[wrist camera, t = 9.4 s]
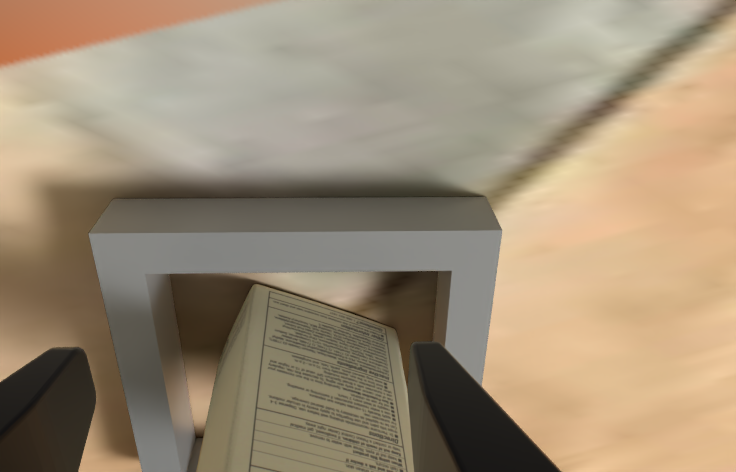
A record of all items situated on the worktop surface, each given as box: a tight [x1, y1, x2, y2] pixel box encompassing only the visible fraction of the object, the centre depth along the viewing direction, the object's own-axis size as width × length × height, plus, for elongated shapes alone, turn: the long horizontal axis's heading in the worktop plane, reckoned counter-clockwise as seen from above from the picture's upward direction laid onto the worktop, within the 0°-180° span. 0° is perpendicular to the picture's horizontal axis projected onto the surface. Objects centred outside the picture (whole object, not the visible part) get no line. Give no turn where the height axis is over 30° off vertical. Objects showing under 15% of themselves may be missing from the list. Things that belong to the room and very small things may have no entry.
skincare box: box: [196, 284, 414, 472], centre depth 20 cm, size 6×4×12 cm
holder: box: [88, 197, 502, 472], centre depth 24 cm, size 13×13×2 cm
